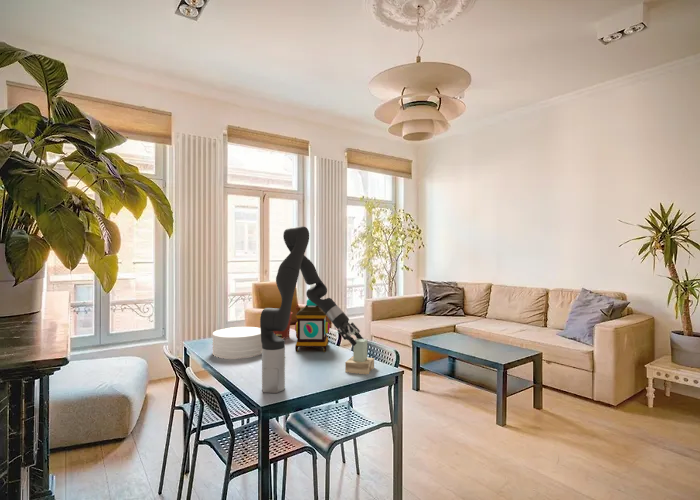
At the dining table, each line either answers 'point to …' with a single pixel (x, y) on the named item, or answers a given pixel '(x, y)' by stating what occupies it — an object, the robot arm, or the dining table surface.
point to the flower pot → (286, 332)
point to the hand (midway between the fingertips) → (358, 342)
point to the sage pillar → (360, 350)
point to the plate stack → (237, 342)
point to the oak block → (359, 366)
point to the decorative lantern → (311, 327)
